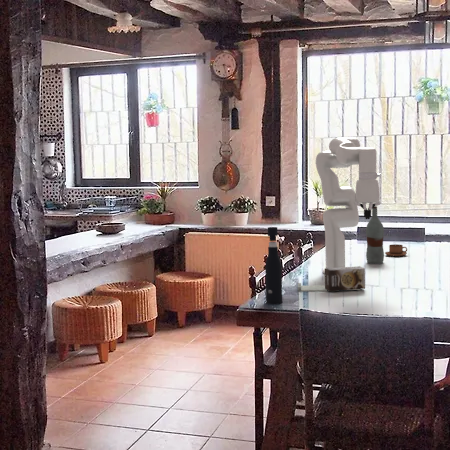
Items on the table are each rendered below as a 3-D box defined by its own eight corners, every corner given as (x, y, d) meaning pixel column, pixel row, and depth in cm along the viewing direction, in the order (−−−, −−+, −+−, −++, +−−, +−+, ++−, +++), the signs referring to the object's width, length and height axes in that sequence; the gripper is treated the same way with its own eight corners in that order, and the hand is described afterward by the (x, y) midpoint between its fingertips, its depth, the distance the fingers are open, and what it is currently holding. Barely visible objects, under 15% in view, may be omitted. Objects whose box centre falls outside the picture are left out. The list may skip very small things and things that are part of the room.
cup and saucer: (403, 254, 400) (403, 243, 399) (409, 257, 388) (409, 246, 387) (382, 254, 399) (382, 244, 399) (388, 257, 387) (388, 246, 387)
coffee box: (365, 289, 296) (329, 292, 293) (360, 286, 302) (324, 289, 299) (365, 267, 295) (328, 270, 292) (359, 265, 301) (323, 268, 298)
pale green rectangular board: (298, 287, 308) (297, 283, 308) (357, 286, 306) (357, 282, 305) (298, 291, 298) (298, 287, 298) (359, 290, 296) (359, 286, 295)
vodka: (365, 263, 367) (365, 207, 364) (366, 261, 376) (365, 206, 373) (384, 264, 365) (383, 207, 362) (384, 261, 374) (383, 205, 371)
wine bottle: (281, 300, 280) (279, 226, 277) (283, 303, 274) (281, 228, 271) (265, 301, 280) (263, 226, 277) (266, 304, 274) (265, 228, 271)
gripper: (384, 175, 304) (383, 217, 306) (349, 176, 305) (349, 218, 307) (386, 176, 296) (386, 219, 298) (350, 177, 298) (350, 220, 300)
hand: (367, 218), depth 303 cm, fingers closed
